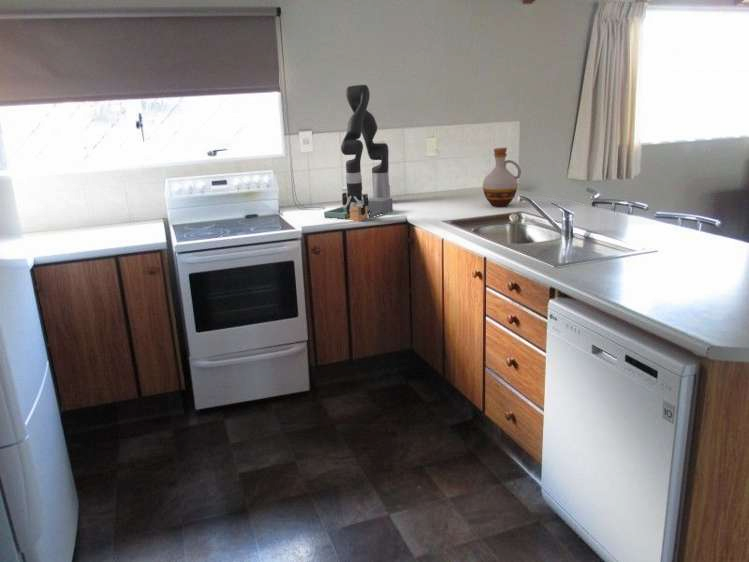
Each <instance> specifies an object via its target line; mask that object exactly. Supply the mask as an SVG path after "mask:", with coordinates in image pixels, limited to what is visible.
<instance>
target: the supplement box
mask: <svg viewBox="0 0 749 562" xmlns="http://www.w3.org/2000/svg"><path fill="white" fill-rule="evenodd" d="M343 193H348V191H347V185H346V186H343V187H341V195H342V194H343ZM348 199H349V198H348V197H347V200H348ZM355 205H358V203H355V202H352V203H351V205H350V206H351V207H352V206H355ZM341 207H346V206H345V205H343V204H342V203H341Z"/></svg>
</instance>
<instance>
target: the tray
mask: <svg viewBox="0 0 749 562" xmlns="http://www.w3.org/2000/svg"><path fill="white" fill-rule="evenodd" d="M323 216H324V217H325V218H324V219H332V218H337V219H336V220H344V219H345V220H347V218H348V219H350V214H347V212H346V207H342V206H340V207H336V208H333V209H331V210H327V211H326V210H325V211H324V212H323Z"/></svg>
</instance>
